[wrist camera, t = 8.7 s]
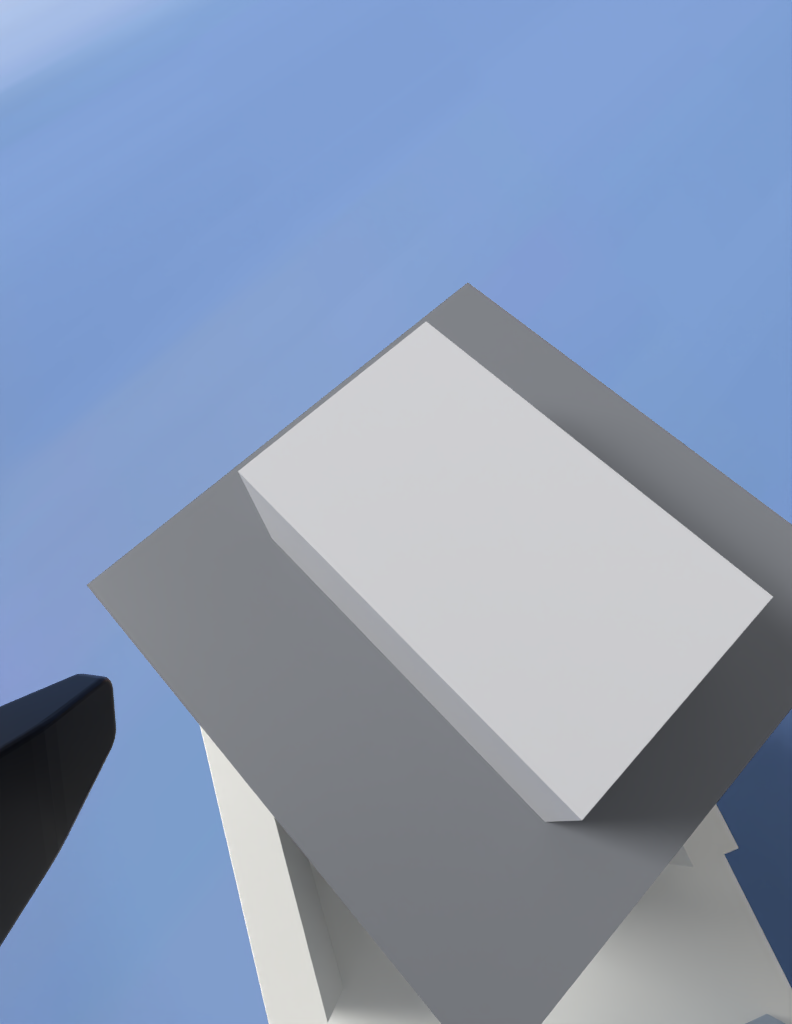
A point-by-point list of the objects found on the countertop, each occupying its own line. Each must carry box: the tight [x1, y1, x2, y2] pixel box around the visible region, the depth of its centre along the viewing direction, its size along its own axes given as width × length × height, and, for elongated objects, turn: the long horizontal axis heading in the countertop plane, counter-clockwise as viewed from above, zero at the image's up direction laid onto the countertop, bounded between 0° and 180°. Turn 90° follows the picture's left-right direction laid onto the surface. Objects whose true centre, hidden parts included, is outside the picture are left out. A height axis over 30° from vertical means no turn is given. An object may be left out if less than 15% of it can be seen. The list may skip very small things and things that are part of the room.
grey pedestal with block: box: [87, 283, 792, 1024], centre depth 11 cm, size 4×4×14 cm
